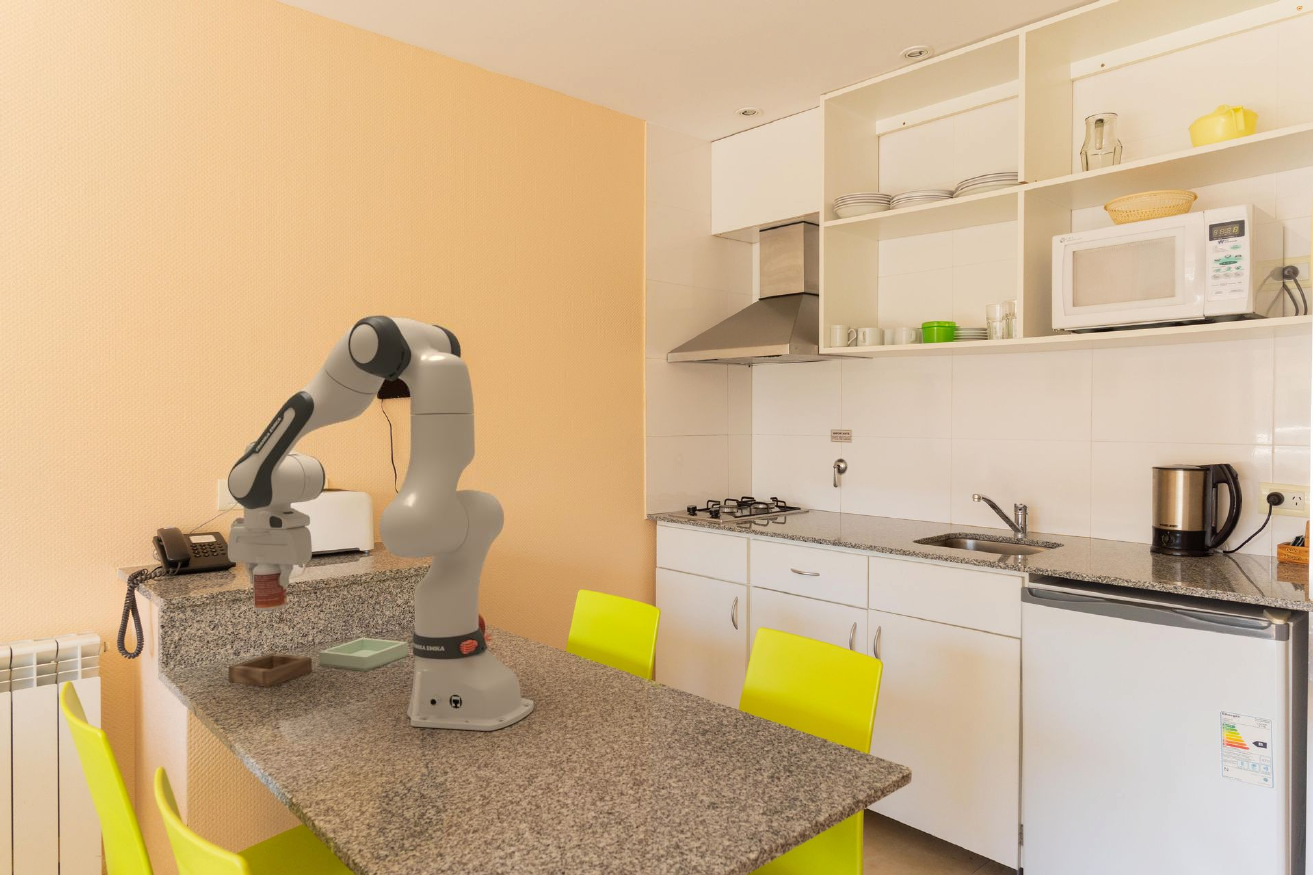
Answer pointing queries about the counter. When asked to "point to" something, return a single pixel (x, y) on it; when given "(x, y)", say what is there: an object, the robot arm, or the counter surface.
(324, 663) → the tray
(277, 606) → the pill bottle
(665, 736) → the counter surface
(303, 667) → the collar
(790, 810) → the counter surface
